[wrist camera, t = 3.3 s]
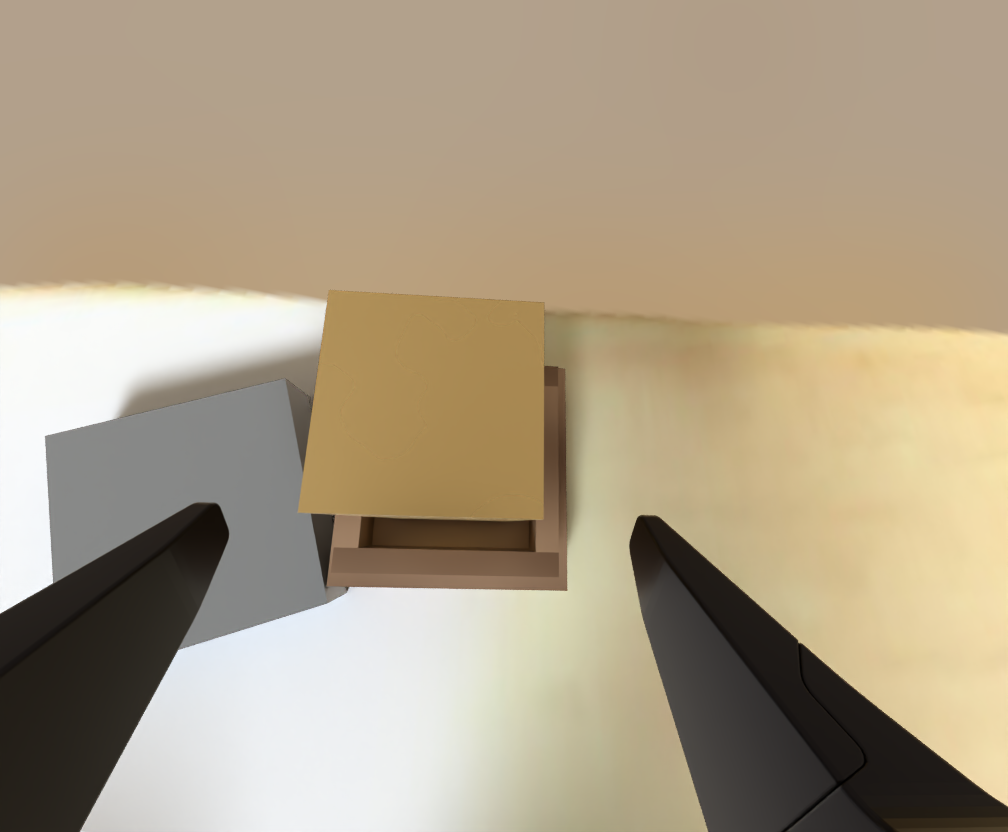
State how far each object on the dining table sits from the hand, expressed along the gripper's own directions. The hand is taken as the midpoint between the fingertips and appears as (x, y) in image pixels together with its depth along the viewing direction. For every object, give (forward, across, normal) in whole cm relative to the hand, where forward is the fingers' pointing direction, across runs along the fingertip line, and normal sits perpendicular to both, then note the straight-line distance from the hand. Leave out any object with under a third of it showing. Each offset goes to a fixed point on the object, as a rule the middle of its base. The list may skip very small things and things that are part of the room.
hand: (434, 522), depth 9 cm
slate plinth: (+7, +10, +7) cm, 14 cm away
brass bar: (+7, 0, +4) cm, 8 cm away
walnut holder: (+9, 0, +6) cm, 10 cm away
